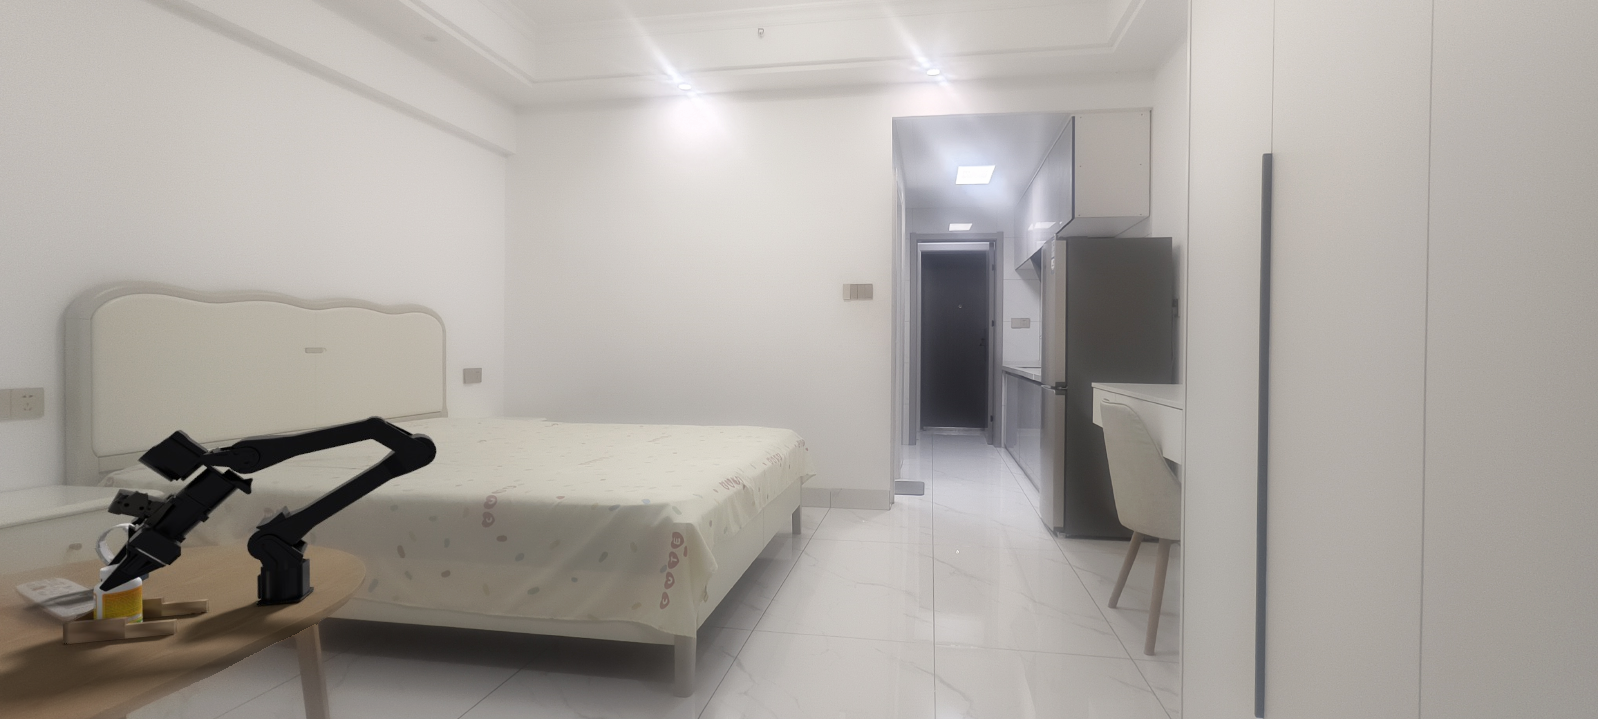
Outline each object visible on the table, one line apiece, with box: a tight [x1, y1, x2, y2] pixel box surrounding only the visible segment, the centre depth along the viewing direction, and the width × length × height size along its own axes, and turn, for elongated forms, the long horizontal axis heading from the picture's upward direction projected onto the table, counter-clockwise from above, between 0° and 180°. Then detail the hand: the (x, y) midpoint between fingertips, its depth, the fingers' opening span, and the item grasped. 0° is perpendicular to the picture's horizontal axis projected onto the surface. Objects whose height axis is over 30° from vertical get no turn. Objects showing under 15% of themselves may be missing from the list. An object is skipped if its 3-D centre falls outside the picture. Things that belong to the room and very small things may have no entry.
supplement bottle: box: [93, 564, 144, 623], centre depth 106 cm, size 5×5×10 cm
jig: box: [62, 596, 210, 645], centre depth 107 cm, size 14×10×3 cm
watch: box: [94, 522, 150, 582], centre depth 126 cm, size 6×8×11 cm
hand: (103, 582), depth 105 cm, fingers open, 9 cm apart
